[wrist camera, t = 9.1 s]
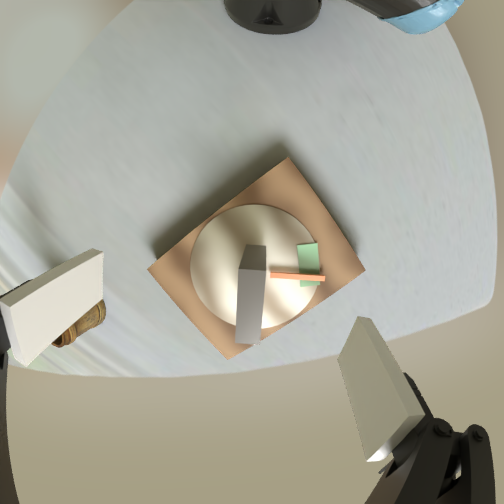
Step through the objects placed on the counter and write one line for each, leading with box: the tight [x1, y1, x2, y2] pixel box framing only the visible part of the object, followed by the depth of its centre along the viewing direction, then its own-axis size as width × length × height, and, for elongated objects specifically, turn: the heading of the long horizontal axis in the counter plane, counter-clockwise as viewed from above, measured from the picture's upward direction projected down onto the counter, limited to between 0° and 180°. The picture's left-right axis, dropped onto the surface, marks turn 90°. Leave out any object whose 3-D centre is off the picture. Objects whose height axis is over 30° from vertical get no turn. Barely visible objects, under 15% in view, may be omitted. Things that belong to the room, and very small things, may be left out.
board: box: [147, 157, 365, 360], centre depth 37 cm, size 24×18×4 cm
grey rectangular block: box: [235, 244, 325, 345], centre depth 29 cm, size 8×10×11 cm
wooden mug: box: [0, 295, 106, 348], centre depth 34 cm, size 9×14×18 cm, turn 29°
